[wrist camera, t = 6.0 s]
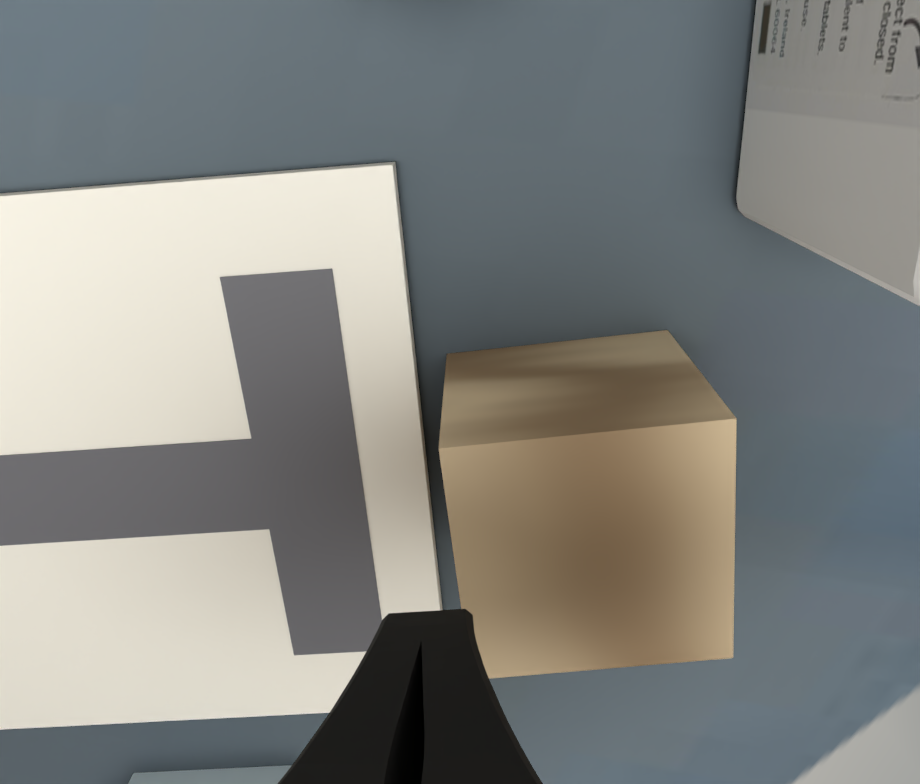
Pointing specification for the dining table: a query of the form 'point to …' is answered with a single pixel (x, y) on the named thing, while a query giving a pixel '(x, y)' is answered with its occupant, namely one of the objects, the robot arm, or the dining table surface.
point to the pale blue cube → (214, 776)
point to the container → (837, 133)
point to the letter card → (205, 445)
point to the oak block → (590, 504)
